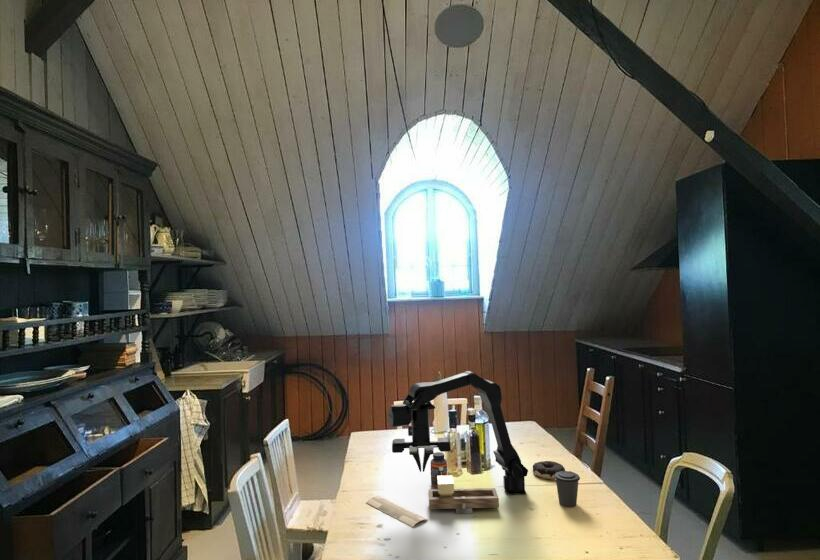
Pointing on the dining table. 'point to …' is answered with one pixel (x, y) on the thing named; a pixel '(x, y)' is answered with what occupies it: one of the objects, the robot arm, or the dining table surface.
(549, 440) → the dining table surface
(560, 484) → the coffee cup
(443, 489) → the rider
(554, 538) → the dining table surface
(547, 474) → the donut
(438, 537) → the dining table surface
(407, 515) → the beige piece
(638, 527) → the dining table surface
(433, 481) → the supplement bottle
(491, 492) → the brown wooden rectangular tray
